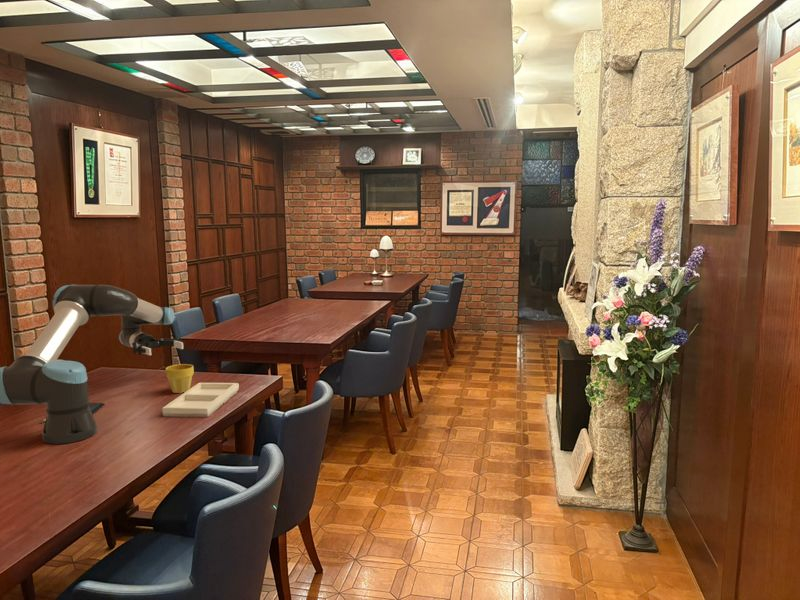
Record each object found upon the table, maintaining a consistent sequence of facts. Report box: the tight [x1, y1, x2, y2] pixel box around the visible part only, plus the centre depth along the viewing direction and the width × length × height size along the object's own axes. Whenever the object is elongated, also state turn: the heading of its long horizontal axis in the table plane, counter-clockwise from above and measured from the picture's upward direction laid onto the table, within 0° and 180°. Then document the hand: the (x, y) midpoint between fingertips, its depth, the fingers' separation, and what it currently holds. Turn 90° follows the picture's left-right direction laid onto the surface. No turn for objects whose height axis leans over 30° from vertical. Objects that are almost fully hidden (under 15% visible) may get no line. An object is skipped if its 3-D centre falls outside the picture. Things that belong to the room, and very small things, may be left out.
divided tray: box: [161, 382, 240, 418], centre depth 212 cm, size 31×16×3 cm, turn 176°
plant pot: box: [165, 363, 195, 394], centre depth 226 cm, size 10×10×10 cm
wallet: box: [38, 402, 106, 425], centre depth 201 cm, size 20×2×15 cm
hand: (166, 348), depth 231 cm, fingers open, 13 cm apart
